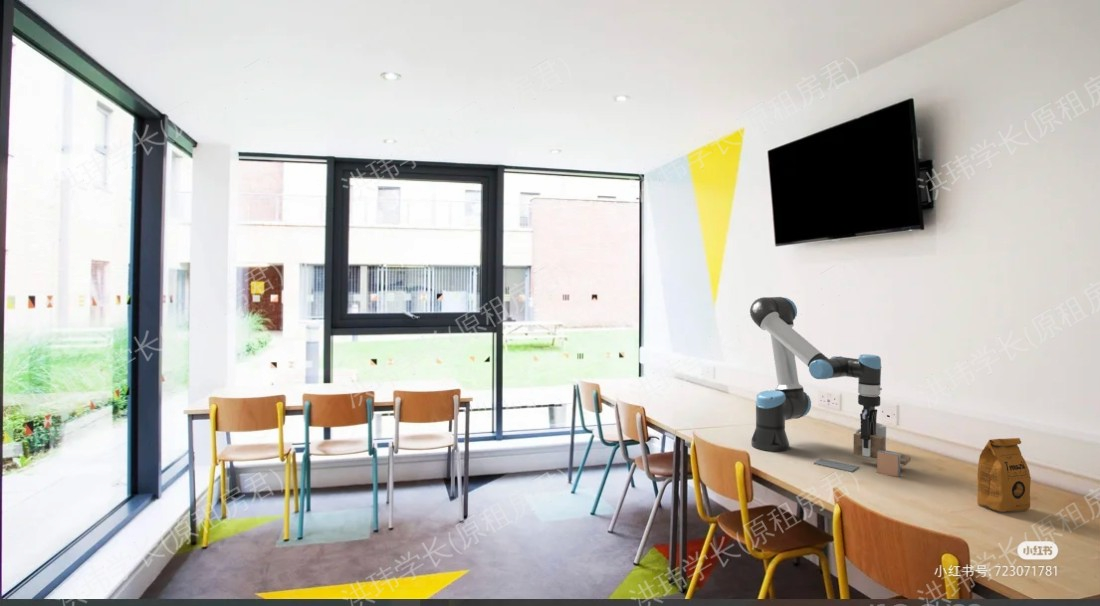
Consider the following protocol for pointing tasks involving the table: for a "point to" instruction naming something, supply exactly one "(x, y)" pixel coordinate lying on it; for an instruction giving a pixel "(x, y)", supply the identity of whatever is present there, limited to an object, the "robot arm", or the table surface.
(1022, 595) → the table surface
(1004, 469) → the coffee package
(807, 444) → the table surface
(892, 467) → the tile
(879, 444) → the stepped wooden block
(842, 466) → the pad
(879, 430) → the mug
